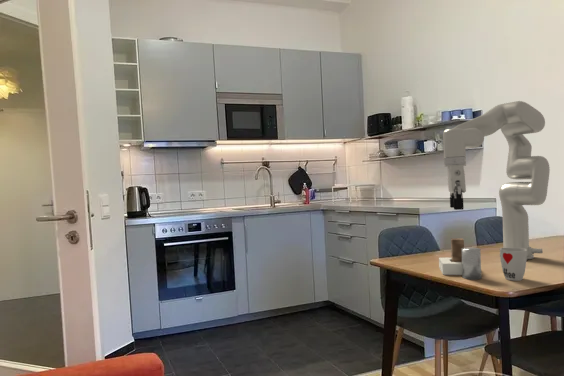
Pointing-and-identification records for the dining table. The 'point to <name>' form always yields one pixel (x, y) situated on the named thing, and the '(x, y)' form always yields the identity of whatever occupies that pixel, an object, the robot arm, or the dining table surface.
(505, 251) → the cup
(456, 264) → the bore block
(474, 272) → the grey cylinder
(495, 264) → the dining table surface
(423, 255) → the dining table surface
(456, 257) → the walnut peg
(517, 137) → the robot arm
